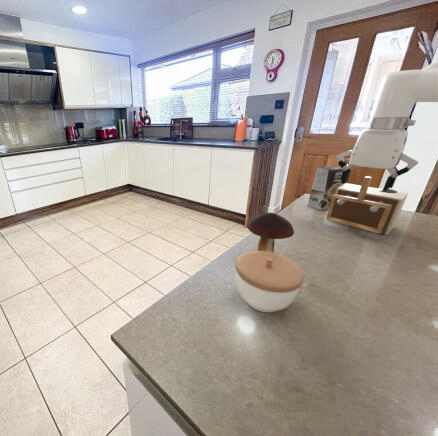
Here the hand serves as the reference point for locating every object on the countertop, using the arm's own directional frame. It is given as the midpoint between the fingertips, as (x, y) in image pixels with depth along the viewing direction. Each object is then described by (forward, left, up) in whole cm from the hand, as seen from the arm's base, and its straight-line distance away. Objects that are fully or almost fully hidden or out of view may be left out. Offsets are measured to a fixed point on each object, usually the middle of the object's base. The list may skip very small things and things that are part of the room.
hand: (363, 186), depth 70 cm
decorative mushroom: (+9, +35, -16) cm, 40 cm away
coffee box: (+14, -18, -16) cm, 28 cm away
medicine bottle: (-4, -15, -15) cm, 22 cm away
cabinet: (0, -6, -16) cm, 17 cm away
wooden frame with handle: (0, 0, -13) cm, 13 cm away
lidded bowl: (+2, +48, -16) cm, 51 cm away
